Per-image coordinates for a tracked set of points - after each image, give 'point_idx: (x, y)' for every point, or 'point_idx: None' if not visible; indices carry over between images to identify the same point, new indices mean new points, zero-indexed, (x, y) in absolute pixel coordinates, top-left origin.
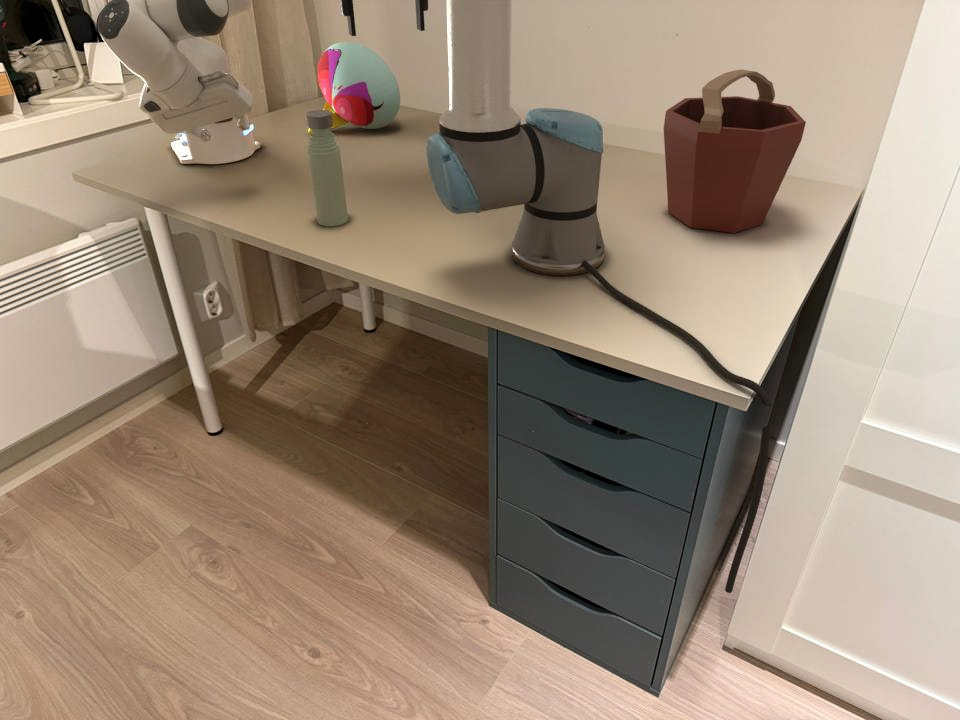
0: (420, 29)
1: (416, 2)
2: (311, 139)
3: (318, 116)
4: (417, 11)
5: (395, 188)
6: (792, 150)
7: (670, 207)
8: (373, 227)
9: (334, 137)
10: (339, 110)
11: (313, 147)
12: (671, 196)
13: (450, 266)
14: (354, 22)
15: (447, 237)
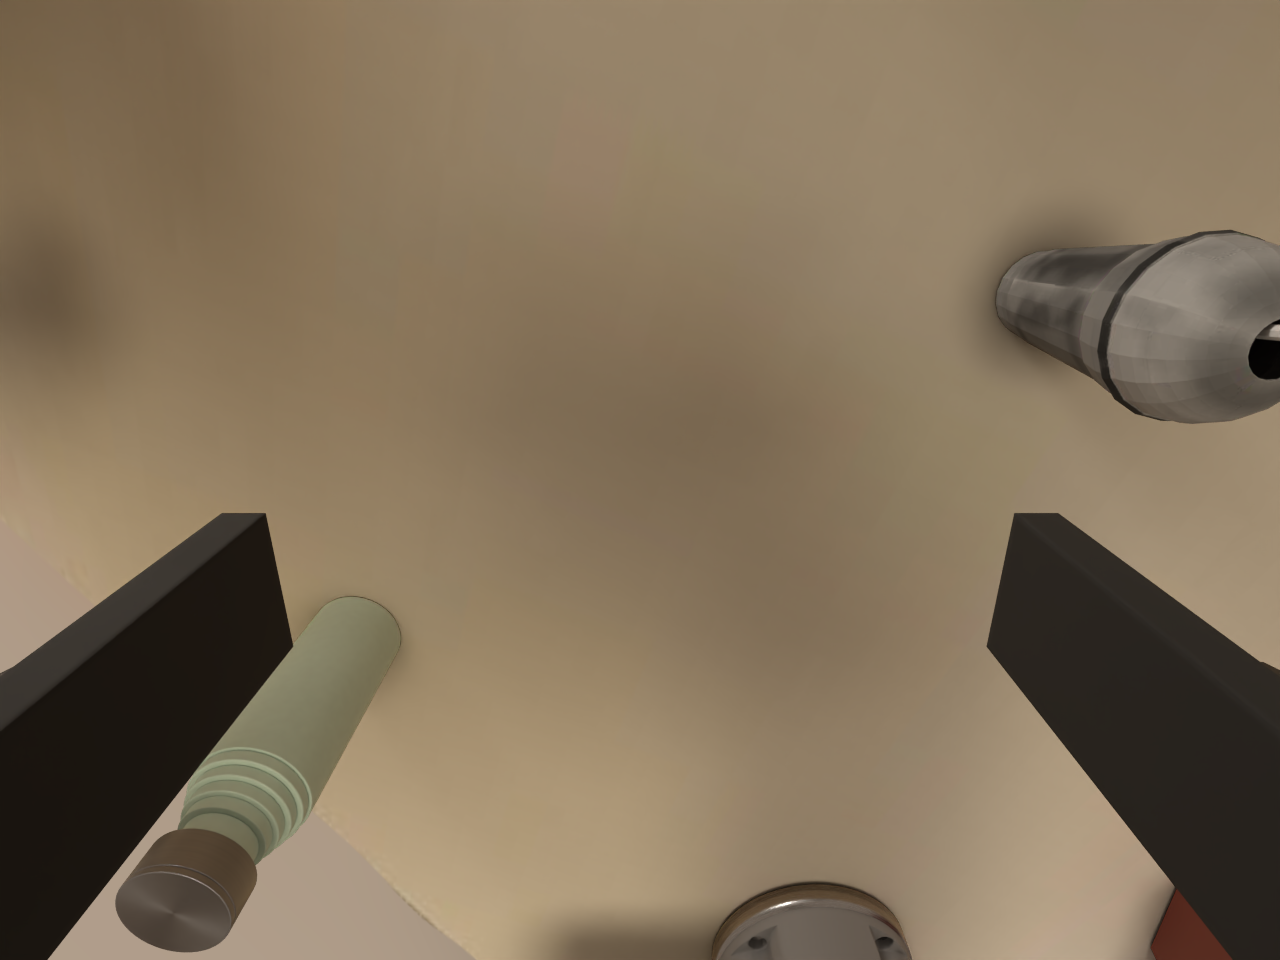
0: (996, 636)
1: (1208, 741)
2: None
3: (174, 945)
4: (1116, 681)
5: (591, 466)
6: None
7: (1187, 902)
8: (461, 709)
9: (279, 837)
10: None
11: None
12: (1203, 935)
13: (582, 921)
14: (221, 733)
15: (624, 814)
